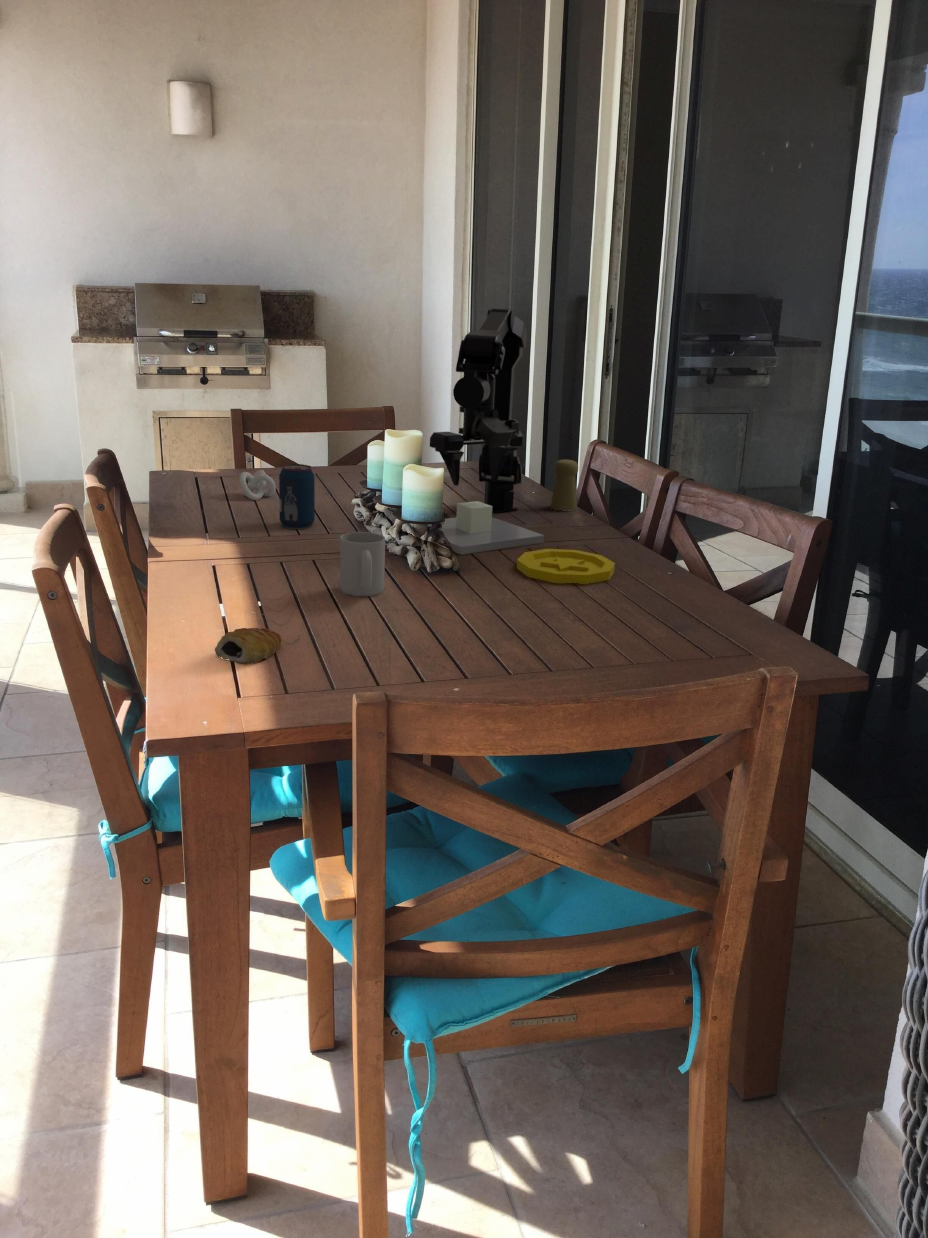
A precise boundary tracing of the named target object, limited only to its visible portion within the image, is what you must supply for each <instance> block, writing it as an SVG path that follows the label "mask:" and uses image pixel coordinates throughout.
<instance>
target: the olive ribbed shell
mask: <svg viewBox="0 0 928 1238" xmlns="http://www.w3.org/2000/svg"><path fill="white" fill-rule="evenodd" d="M281 645H282V637H281V634H279V633H278V632H276V631H274V630H271V629H270V628H266V627H260V628H258V627H250V628H249V627H248V628H247V627H242V628H236V629H234V630H233V631H228V632H226V633H225V634H224V635H222V636H221V638H220V640H218V643H217V644H216V646H215V648H214V652H215V654H216V655H217V657H218V656H220V657H222V658H223V659H229V660H230V661H229V662H233V663H234V662H236V663H237V664H243V665H247V663H249V665H251V663H253V664H256V663H260V662H261V661H262V660H264V659H265V660H267V659H269V658H270V657H271V656H273V655H274V654H276V653H277V652H278V651H279V650H280V649H281ZM279 648H280V649H279ZM278 649H279V650H278ZM277 650H278V651H277ZM276 651H277V652H276ZM275 652H276V653H275ZM272 654H273V655H272ZM269 656H270V657H269ZM268 657H269V658H268Z"/></svg>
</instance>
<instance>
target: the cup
mask: <svg viewBox="0 0 928 1238" xmlns="http://www.w3.org/2000/svg"><path fill="white" fill-rule="evenodd" d="M339 543H340V544H339V545H340V548H339V549H340V550H339V551H340V552H339V554H340V555H339V556H340V557H339V559H340V560H339V564H340V565H339V566H340V567H339V569H340V570H339V587H340V590H341V592H342V593H343V594H345V595H347V594H349V595H348V596H351V595H352V596H351V597H359V596H362V597H365V598H366V596H367V597H375V596H378V595H380V594H382V593H383V591H384V589H385V569H386V568H385V565H386V563H385V562H386V558H385V557H386V537H385V535H382V534H380V533H377V532H376V533H375V532H368V531H356V532H354V531H352V532H347V533H344V534H342V535H340V541H339Z"/></svg>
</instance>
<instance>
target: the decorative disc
mask: <svg viewBox="0 0 928 1238" xmlns="http://www.w3.org/2000/svg"><path fill="white" fill-rule="evenodd" d="M615 567H616V563H615V562H614V561H612V560H610V559H609V558H607V557H605V556H603V555H601V554H597V553H593V552H588V551H583V550H579V549H578V550H577V549H564V548H563V549H560V548H558V549H557V548H556V549H555V548H544V549H538V550H532V551H525V552H523V554H522V555H520V556H519V557H518V558H517V560H516V570H518V571H519V572H521V573H522V574H523V575H525V576H526V577H527V578H532V579H535V580H540V581H545V582H549V583H553V584H565V583H579V584H578V585H590V584H589V583H591V584H596V583H600V582H605V581H610V580H611V578H612V576H613V575H614V573H615ZM595 582H596V583H595Z"/></svg>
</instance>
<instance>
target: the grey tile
mask: <svg viewBox="0 0 928 1238" xmlns="http://www.w3.org/2000/svg"><path fill="white" fill-rule="evenodd" d="M444 519H445V522H444V524H443V525H442V531H443V533H444V535H445V537H446V538H447V539H448V541H449V542H450V544H451V546H452V548H453V550H454V552H453V553H456V554H458V555H467V554H469V555H470V554H475V553H481V552H482V553H483V552H488V551H490V552H491V551H496V550H503V549H509V548H516V547H517V548H518V547H523V546H532V545H538V544H544V543H545V534H543V533H542V534H541V533H539V532H536V531H534V530H530V529H528V528H525V527H522V526H518V525H516V524H513V523H511V522H507V521H506V520H505V521H504V520H501V519H498V518H496V517H493V516H492V524H491V531H488V532H480V533H472V534H470V533H467V532H465V531H462V530H460V529H457V528H456V517H449V518H444Z"/></svg>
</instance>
